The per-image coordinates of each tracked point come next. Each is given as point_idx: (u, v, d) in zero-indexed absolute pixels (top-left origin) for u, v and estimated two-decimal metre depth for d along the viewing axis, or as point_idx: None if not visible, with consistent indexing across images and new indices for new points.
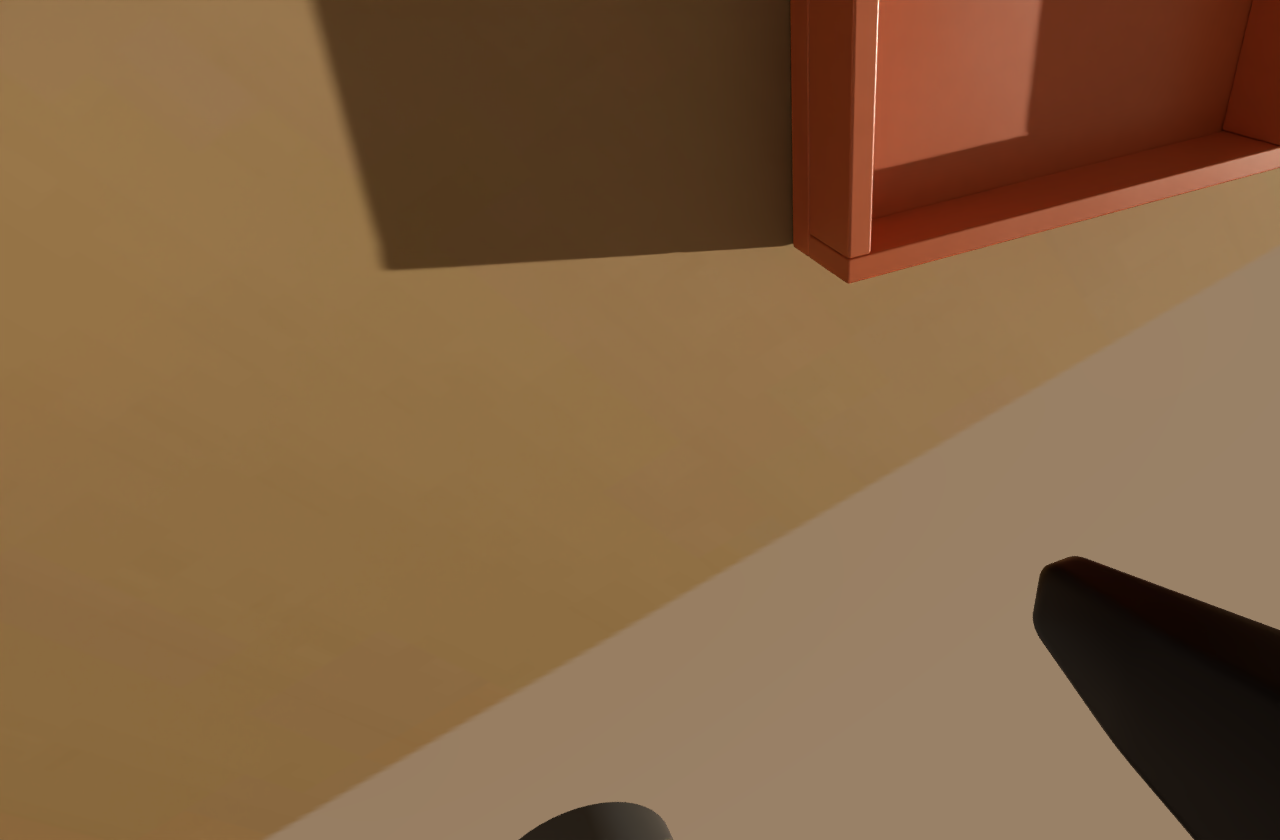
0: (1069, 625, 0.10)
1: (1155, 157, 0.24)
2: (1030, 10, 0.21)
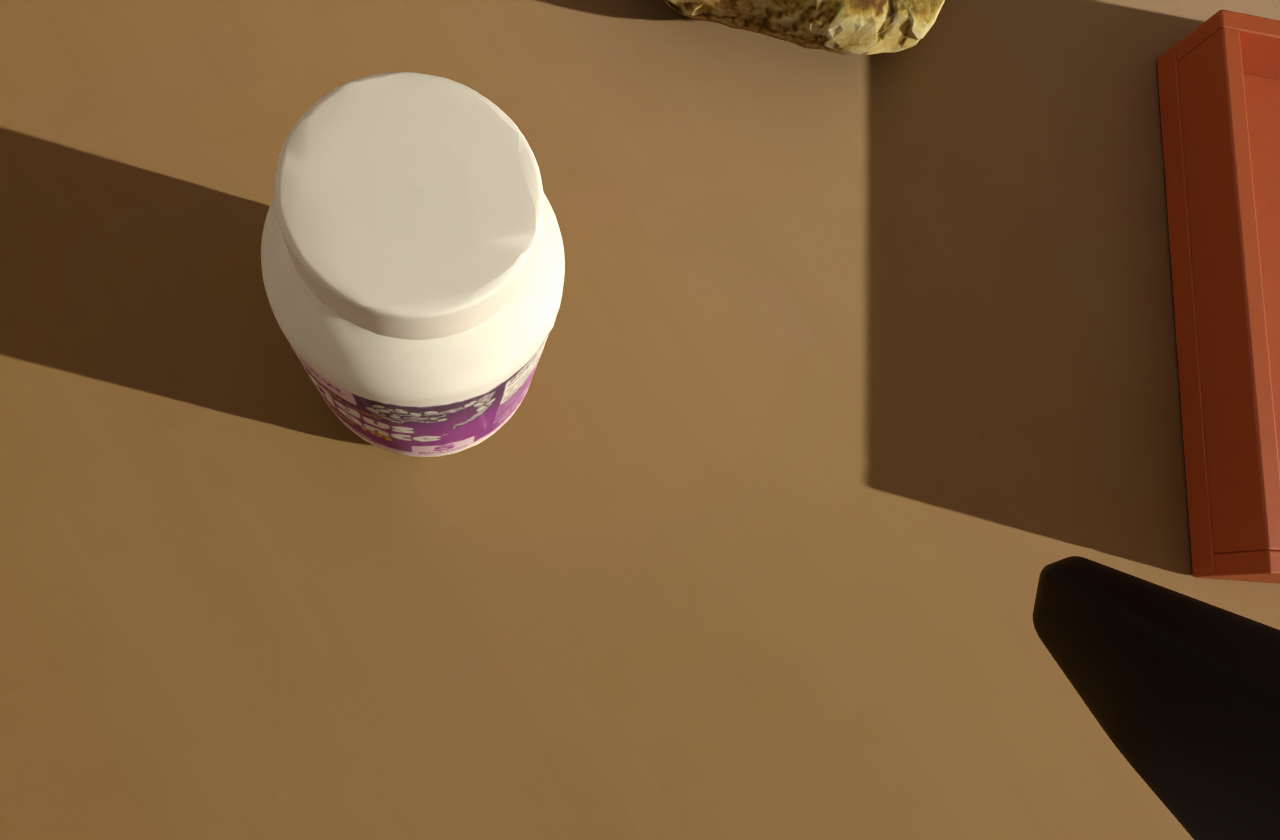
0: (1069, 625, 0.10)
1: None
2: None
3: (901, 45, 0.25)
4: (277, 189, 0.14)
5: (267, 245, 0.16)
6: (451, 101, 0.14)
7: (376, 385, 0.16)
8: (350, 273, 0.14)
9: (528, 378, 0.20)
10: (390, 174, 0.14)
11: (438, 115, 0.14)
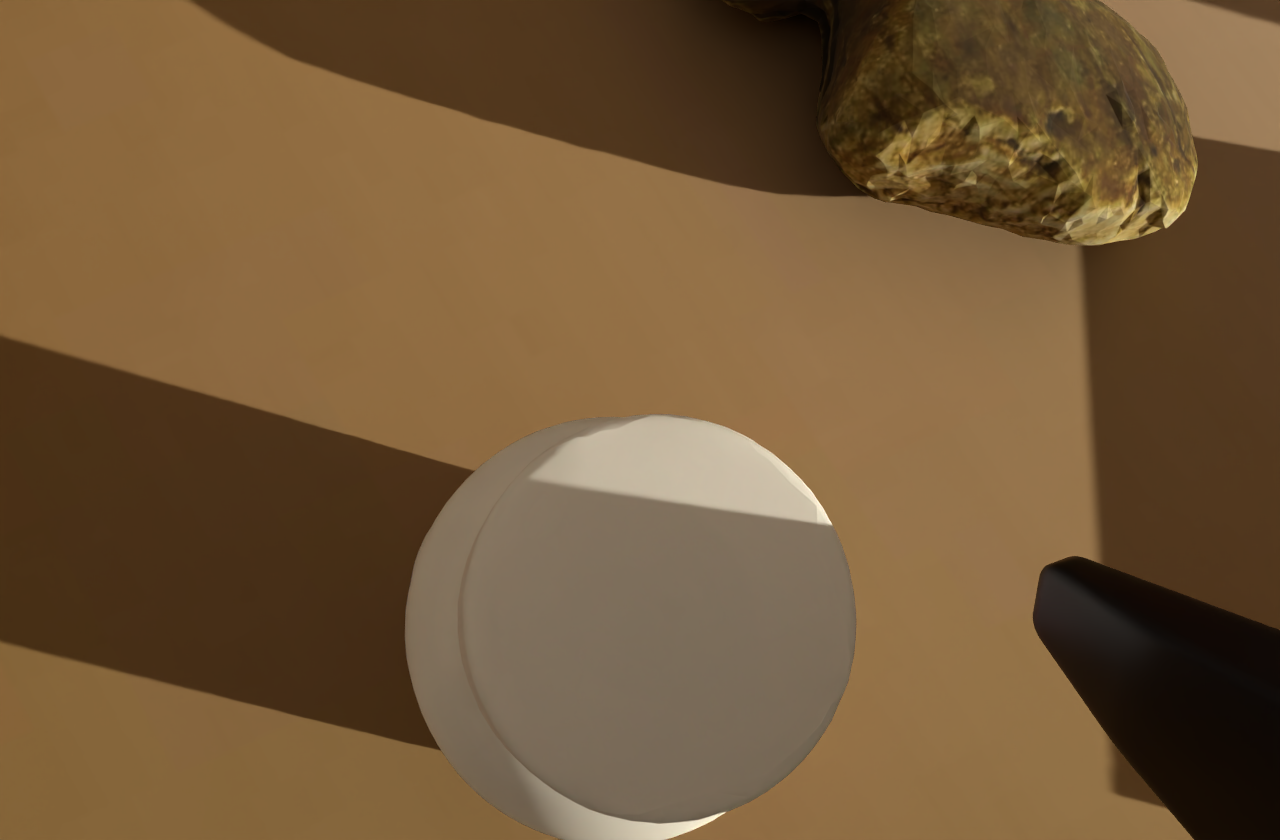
0: (1069, 625, 0.10)
1: None
2: None
3: (1140, 233, 0.21)
4: (469, 619, 0.09)
5: (420, 626, 0.11)
6: (719, 460, 0.10)
7: (573, 836, 0.11)
8: (582, 757, 0.09)
9: None
10: (636, 585, 0.09)
11: (702, 484, 0.09)
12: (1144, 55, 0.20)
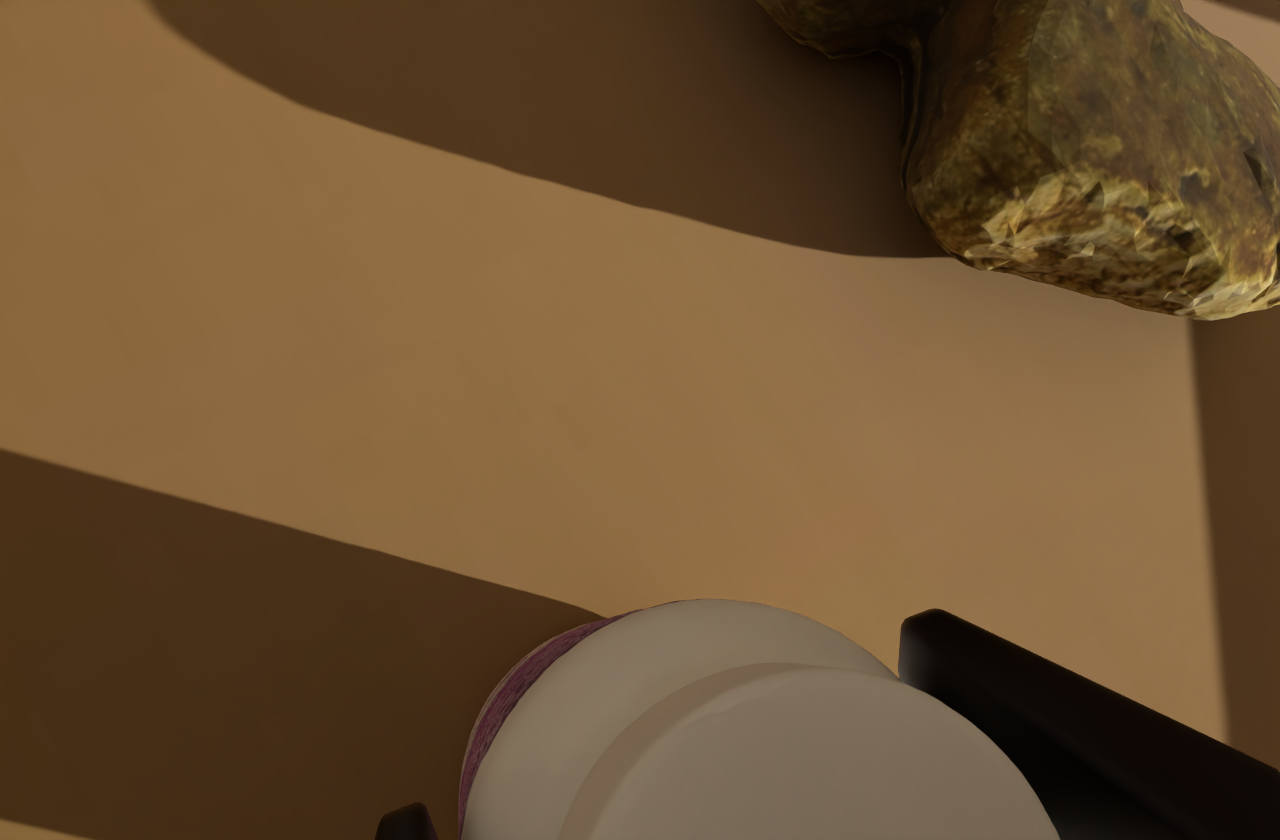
0: (927, 682, 0.10)
1: None
2: None
3: (1269, 305, 0.18)
4: None
5: None
6: (899, 736, 0.07)
7: None
8: None
9: None
10: None
11: (878, 773, 0.07)
12: (1277, 102, 0.18)
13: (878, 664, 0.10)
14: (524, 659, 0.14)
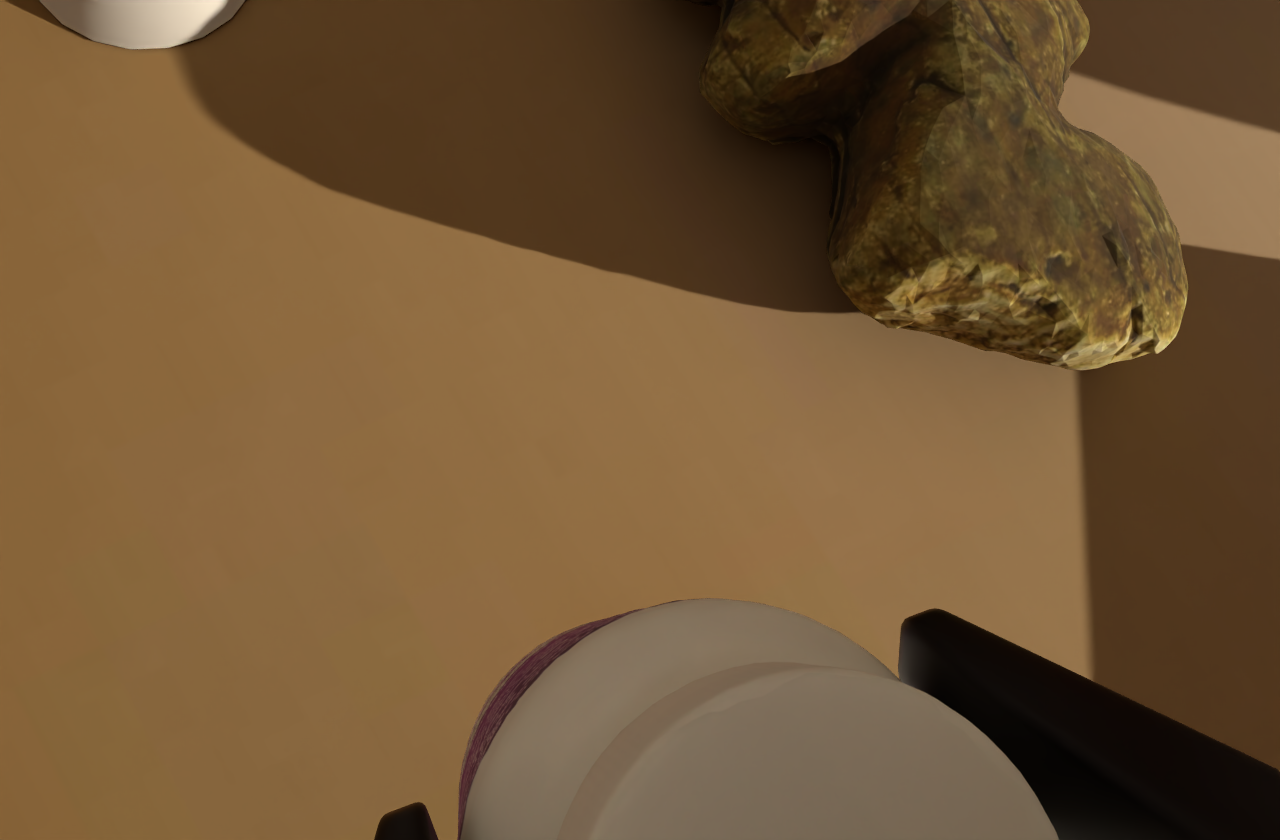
0: (927, 681, 0.10)
1: None
2: None
3: (1133, 356, 0.22)
4: None
5: None
6: (899, 735, 0.07)
7: None
8: None
9: None
10: None
11: (877, 772, 0.07)
12: (1139, 189, 0.21)
13: (878, 664, 0.10)
14: (524, 659, 0.14)
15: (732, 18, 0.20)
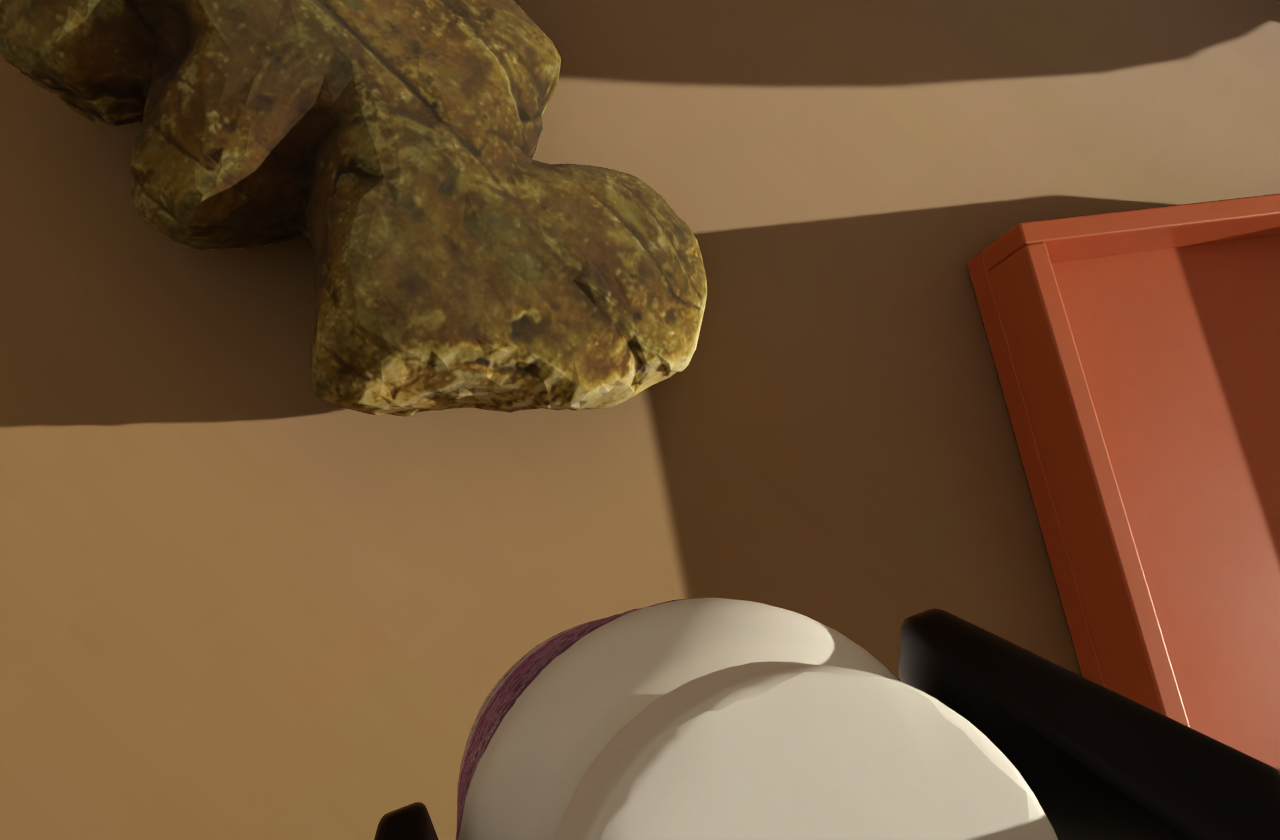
0: (927, 682, 0.10)
1: None
2: None
3: (666, 375, 0.22)
4: None
5: None
6: (897, 734, 0.07)
7: None
8: None
9: None
10: None
11: (875, 771, 0.07)
12: (620, 213, 0.21)
13: (876, 663, 0.10)
14: (523, 658, 0.14)
15: (133, 150, 0.19)
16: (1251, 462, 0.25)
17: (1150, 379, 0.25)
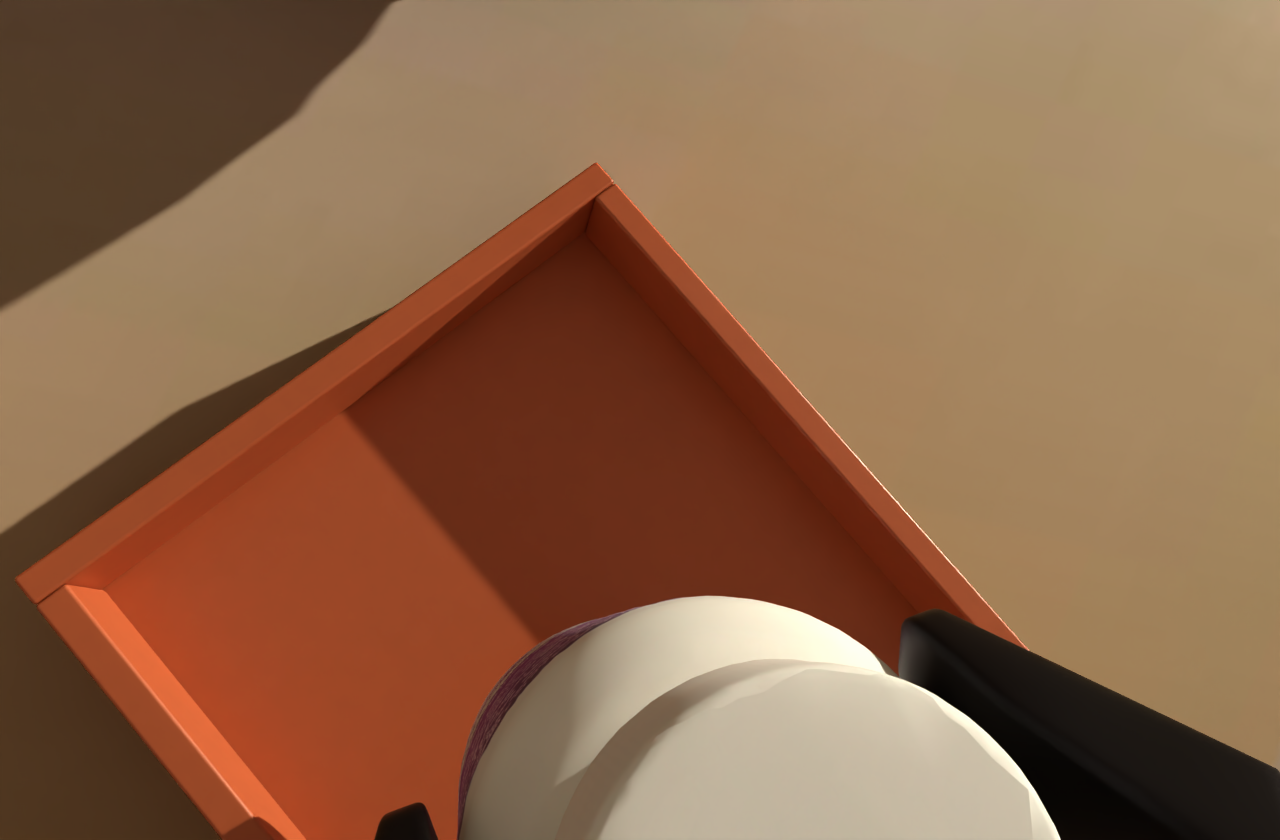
0: (927, 682, 0.10)
1: None
2: None
3: None
4: None
5: None
6: (898, 731, 0.07)
7: None
8: None
9: None
10: None
11: (877, 768, 0.07)
12: None
13: (877, 661, 0.10)
14: (523, 657, 0.14)
15: None
16: None
17: (371, 615, 0.18)
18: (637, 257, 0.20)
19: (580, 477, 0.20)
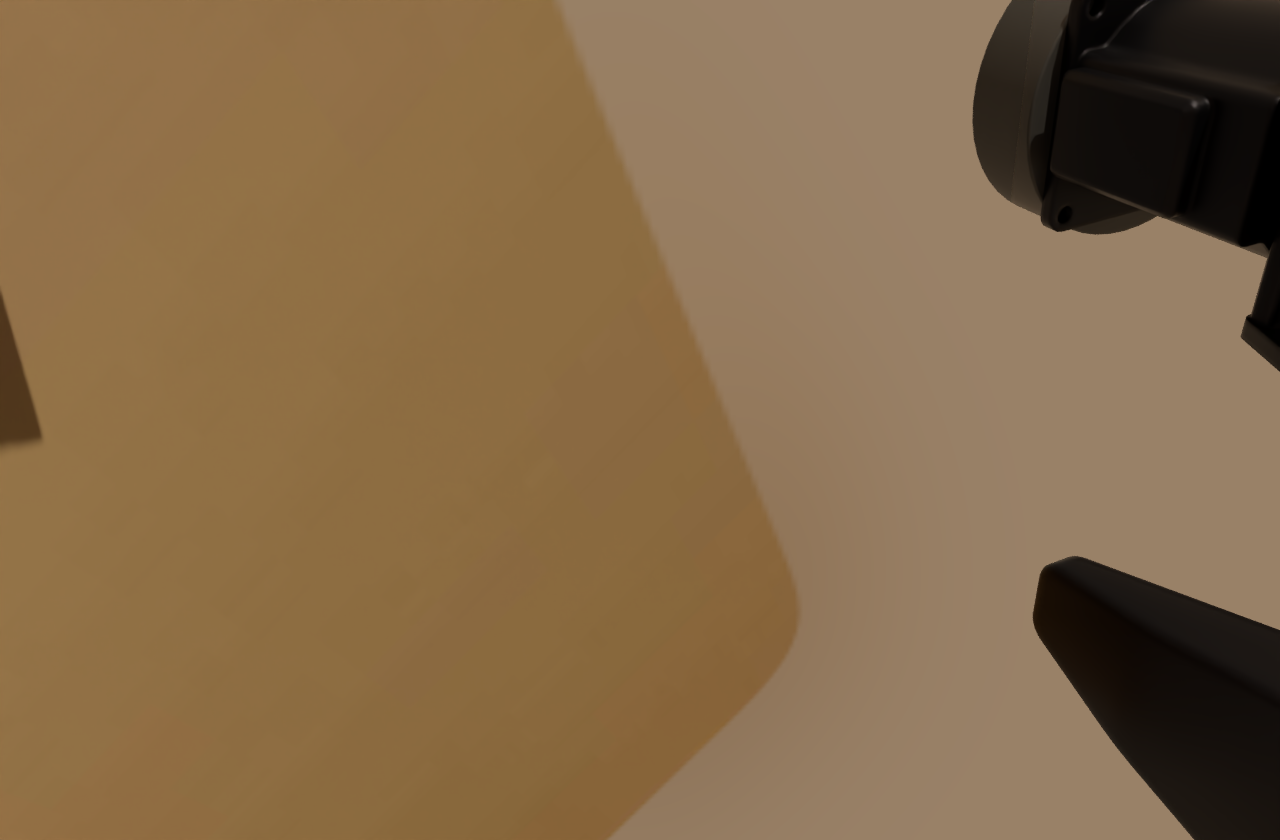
0: (1069, 625, 0.10)
1: None
2: None
3: None
4: None
5: None
6: None
7: None
8: None
9: None
10: None
11: None
12: None
13: None
14: None
15: None
16: None
17: None
18: None
19: None
